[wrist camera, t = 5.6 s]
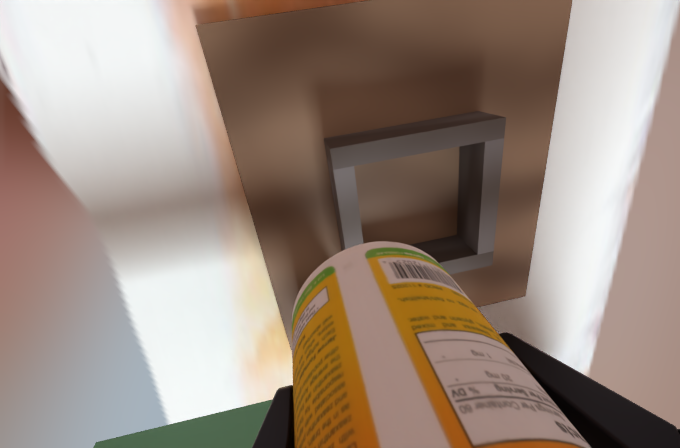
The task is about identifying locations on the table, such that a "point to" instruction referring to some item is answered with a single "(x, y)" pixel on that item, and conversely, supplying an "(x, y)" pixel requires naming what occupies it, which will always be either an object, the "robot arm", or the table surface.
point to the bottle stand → (393, 132)
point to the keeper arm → (200, 431)
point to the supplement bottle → (408, 362)
